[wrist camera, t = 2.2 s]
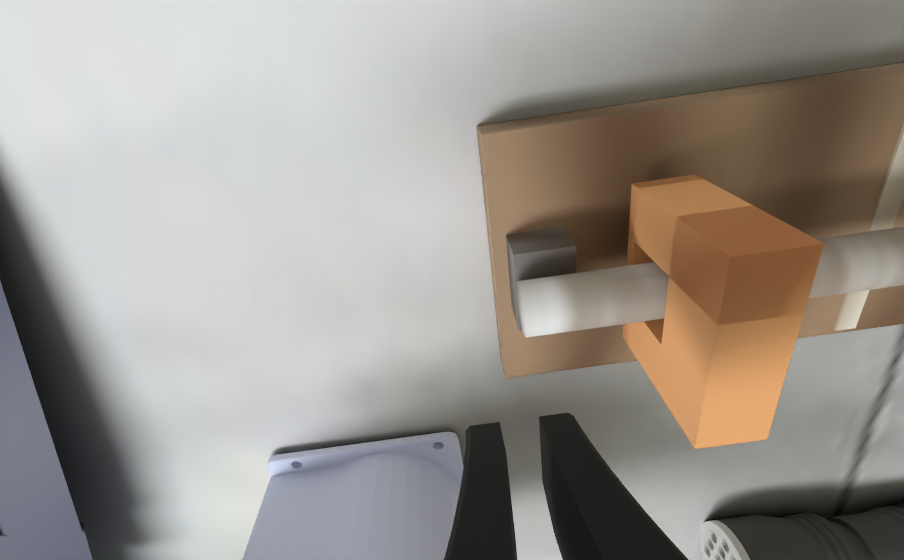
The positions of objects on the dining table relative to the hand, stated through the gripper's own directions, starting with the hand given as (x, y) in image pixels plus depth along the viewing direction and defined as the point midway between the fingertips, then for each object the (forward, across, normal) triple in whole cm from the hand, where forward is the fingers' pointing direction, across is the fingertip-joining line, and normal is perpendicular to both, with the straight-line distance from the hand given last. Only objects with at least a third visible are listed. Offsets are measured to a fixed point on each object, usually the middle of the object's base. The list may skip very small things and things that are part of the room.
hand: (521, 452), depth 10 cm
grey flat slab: (+10, +30, +2) cm, 32 cm away
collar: (+7, -6, 0) cm, 9 cm away
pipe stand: (+9, -10, 0) cm, 14 cm away
